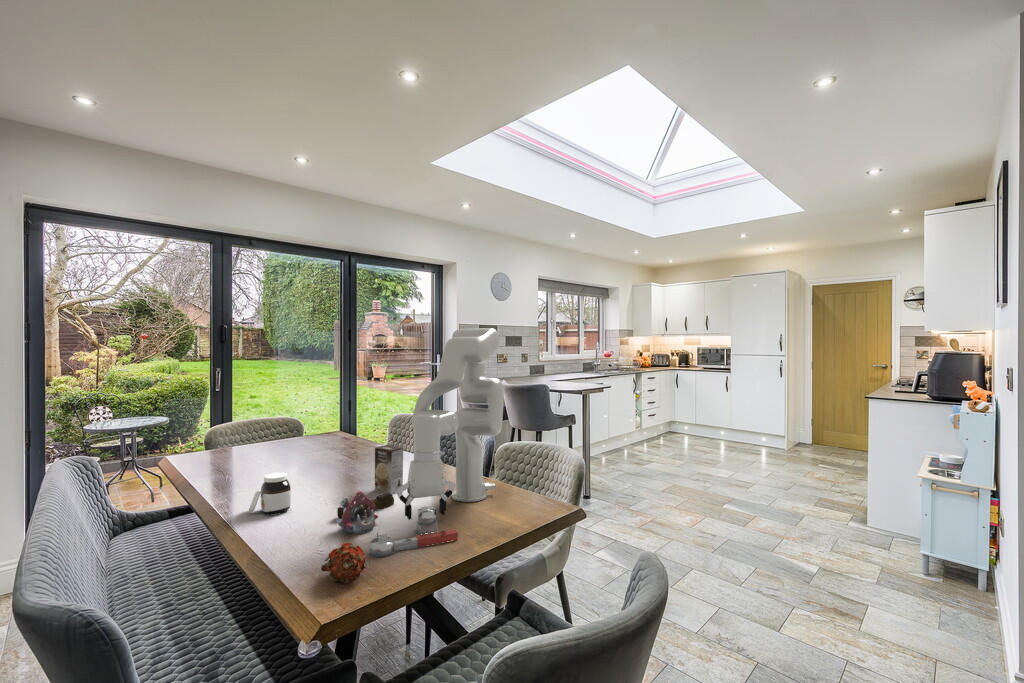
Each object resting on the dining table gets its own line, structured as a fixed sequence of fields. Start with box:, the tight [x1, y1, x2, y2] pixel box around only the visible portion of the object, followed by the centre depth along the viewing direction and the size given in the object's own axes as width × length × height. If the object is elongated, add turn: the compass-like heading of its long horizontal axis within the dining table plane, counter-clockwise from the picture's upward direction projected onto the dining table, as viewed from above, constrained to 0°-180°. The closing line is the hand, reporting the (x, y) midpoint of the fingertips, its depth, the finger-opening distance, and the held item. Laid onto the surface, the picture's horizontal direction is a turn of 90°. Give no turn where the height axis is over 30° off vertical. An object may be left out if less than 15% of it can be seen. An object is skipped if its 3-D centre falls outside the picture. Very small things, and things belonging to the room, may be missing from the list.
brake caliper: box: [335, 490, 379, 535], centre depth 133 cm, size 11×11×12 cm
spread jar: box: [247, 472, 292, 516], centre depth 146 cm, size 12×11×12 cm
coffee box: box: [374, 444, 404, 495], centre depth 168 cm, size 9×6×16 cm
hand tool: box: [336, 493, 395, 519], centre depth 146 cm, size 19×4×5 cm, turn 133°
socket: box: [416, 506, 438, 535], centre depth 131 cm, size 5×5×6 cm
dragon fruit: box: [320, 542, 367, 584], centre depth 104 cm, size 8×8×12 cm
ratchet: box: [369, 528, 459, 559], centre depth 121 cm, size 23×6×5 cm, turn 115°
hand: (425, 516), depth 130 cm, fingers open, 9 cm apart
